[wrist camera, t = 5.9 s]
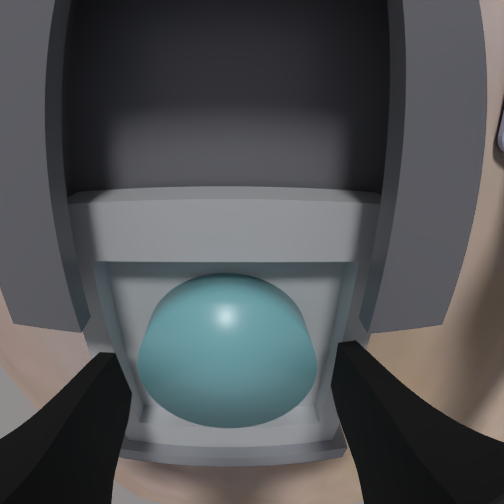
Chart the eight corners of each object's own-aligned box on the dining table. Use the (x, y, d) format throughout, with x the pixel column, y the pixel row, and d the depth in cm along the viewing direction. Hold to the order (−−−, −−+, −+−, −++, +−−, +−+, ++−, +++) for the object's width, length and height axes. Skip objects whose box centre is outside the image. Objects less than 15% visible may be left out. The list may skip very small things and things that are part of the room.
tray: (381, 188, 10) (426, 212, 7) (329, 413, 15) (342, 456, 12) (74, 187, 9) (27, 212, 7) (131, 413, 14) (120, 457, 11)
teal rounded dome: (283, 398, 12) (289, 431, 10) (149, 382, 11) (141, 416, 10) (326, 285, 10) (342, 317, 8) (151, 259, 9) (135, 288, 8)
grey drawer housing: (389, -32, 7) (456, -80, 2) (377, 253, 12) (441, 324, 7) (80, -33, 6) (19, -82, 2) (77, 253, 11) (13, 323, 6)
